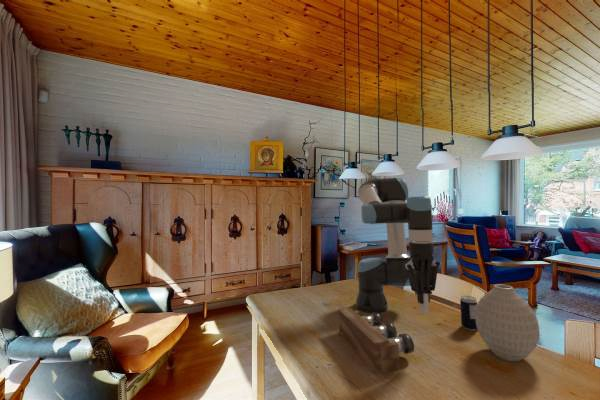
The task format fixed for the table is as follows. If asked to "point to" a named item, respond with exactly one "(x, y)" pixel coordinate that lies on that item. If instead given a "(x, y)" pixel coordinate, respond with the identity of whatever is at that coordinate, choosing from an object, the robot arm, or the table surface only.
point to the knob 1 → (374, 319)
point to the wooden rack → (369, 341)
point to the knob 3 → (403, 343)
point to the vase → (507, 323)
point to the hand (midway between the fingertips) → (424, 312)
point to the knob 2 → (388, 329)
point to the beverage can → (468, 312)
